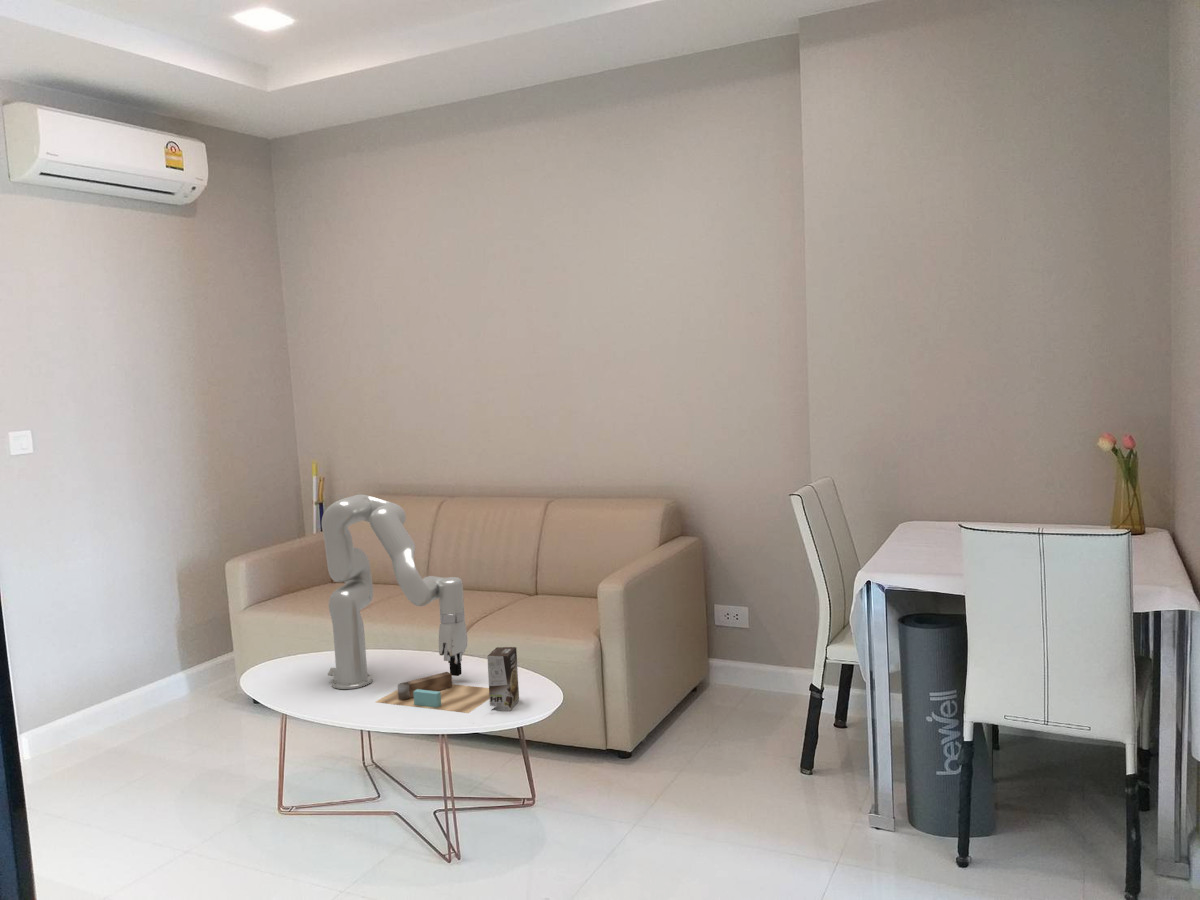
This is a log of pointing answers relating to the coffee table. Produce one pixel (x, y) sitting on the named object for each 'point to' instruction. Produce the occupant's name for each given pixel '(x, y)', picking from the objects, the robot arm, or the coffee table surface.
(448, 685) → the folding leg
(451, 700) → the stool top
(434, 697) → the stop block
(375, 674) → the coffee table surface
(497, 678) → the coffee box
